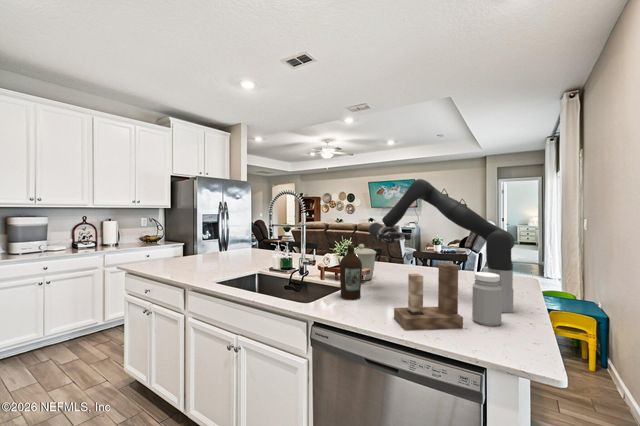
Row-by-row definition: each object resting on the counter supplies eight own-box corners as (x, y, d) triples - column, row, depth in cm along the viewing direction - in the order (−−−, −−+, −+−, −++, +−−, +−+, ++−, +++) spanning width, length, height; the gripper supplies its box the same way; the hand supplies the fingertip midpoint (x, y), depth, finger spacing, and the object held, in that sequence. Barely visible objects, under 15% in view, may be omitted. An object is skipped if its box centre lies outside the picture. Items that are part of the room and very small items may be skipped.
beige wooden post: (418, 321, 116) (418, 273, 116) (422, 325, 112) (423, 275, 112) (408, 321, 116) (408, 273, 116) (412, 325, 112) (412, 276, 112)
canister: (340, 277, 191) (341, 243, 191) (365, 274, 199) (365, 242, 199) (356, 283, 175) (356, 246, 175) (382, 280, 183) (382, 245, 182)
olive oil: (337, 294, 152) (337, 243, 152) (358, 293, 154) (358, 243, 154) (342, 300, 142) (342, 246, 142) (364, 299, 143) (364, 246, 143)
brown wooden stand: (447, 316, 121) (447, 261, 121) (464, 328, 109) (464, 267, 109) (394, 318, 119) (394, 262, 119) (405, 330, 108) (405, 268, 107)
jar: (475, 315, 123) (475, 270, 122) (503, 321, 116) (504, 273, 116) (468, 322, 115) (469, 274, 115) (498, 329, 109) (499, 278, 109)
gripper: (373, 226, 148) (383, 229, 132) (402, 226, 149) (415, 228, 133) (373, 242, 148) (383, 246, 132) (402, 242, 149) (415, 246, 133)
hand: (399, 237), depth 132 cm, fingers open, 8 cm apart
